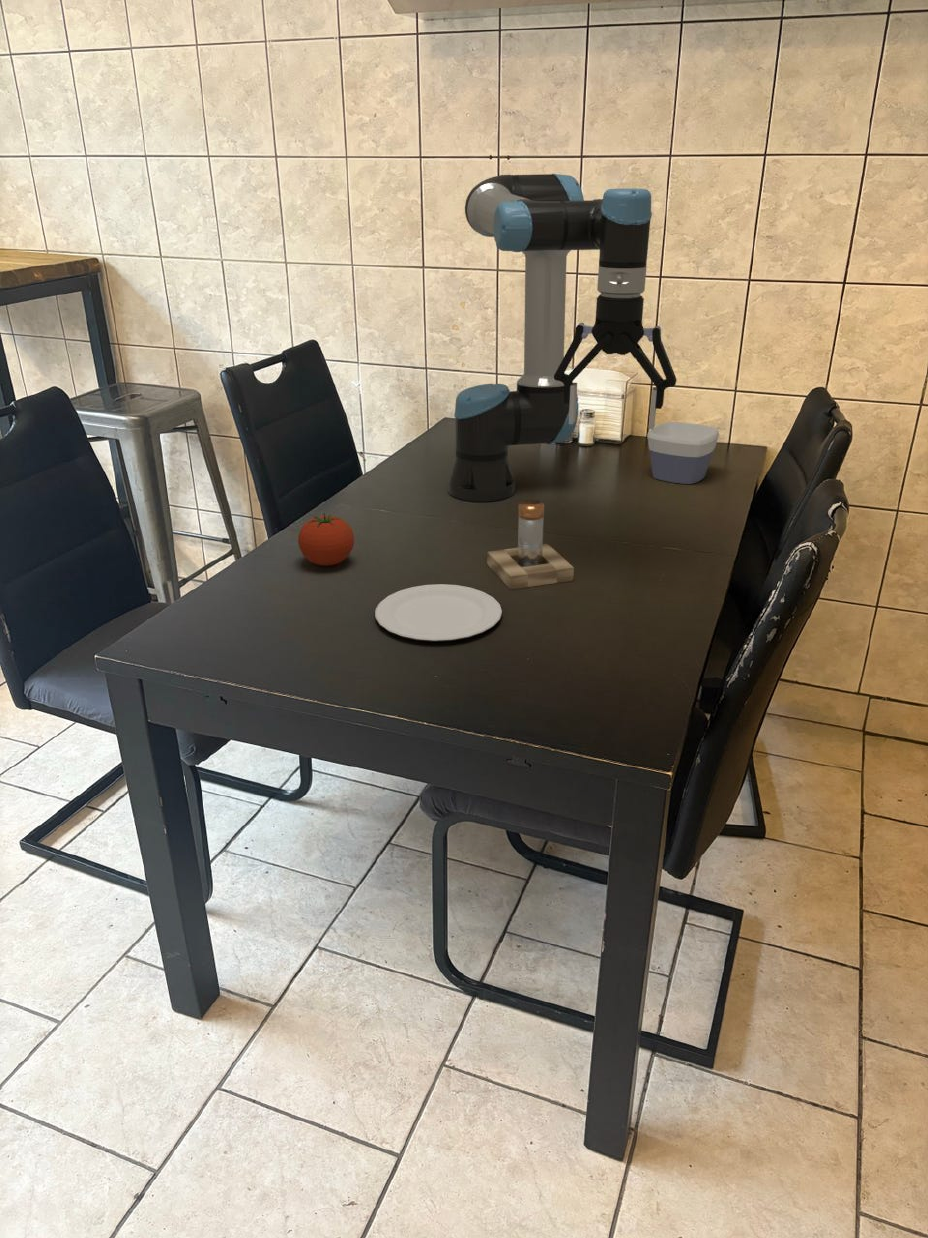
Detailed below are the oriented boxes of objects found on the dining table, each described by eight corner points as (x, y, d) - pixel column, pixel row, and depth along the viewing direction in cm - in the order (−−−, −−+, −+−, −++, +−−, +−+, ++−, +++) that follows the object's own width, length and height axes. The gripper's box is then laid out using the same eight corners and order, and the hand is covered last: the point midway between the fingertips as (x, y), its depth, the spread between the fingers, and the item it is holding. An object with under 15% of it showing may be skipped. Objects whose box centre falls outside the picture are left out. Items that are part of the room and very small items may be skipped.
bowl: (721, 473, 218) (726, 427, 213) (699, 490, 207) (704, 442, 202) (660, 463, 226) (664, 418, 221) (635, 479, 214) (639, 433, 209)
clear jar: (513, 569, 167) (514, 501, 161) (536, 566, 168) (538, 499, 163) (522, 578, 163) (524, 509, 158) (545, 575, 165) (548, 507, 159)
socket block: (487, 564, 169) (487, 551, 168) (546, 556, 173) (547, 543, 172) (510, 589, 159) (510, 576, 158) (573, 580, 163) (573, 567, 161)
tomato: (333, 548, 176) (329, 499, 172) (366, 563, 170) (363, 512, 165) (289, 563, 170) (284, 513, 166) (322, 579, 163) (318, 527, 159)
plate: (458, 661, 137) (458, 651, 136) (349, 628, 147) (348, 618, 146) (524, 609, 153) (524, 600, 152) (422, 582, 163) (421, 574, 162)
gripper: (539, 294, 146) (535, 425, 156) (698, 299, 140) (684, 435, 150) (548, 289, 153) (543, 414, 162) (700, 293, 147) (686, 423, 156)
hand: (611, 424), depth 156 cm, fingers open, 13 cm apart
